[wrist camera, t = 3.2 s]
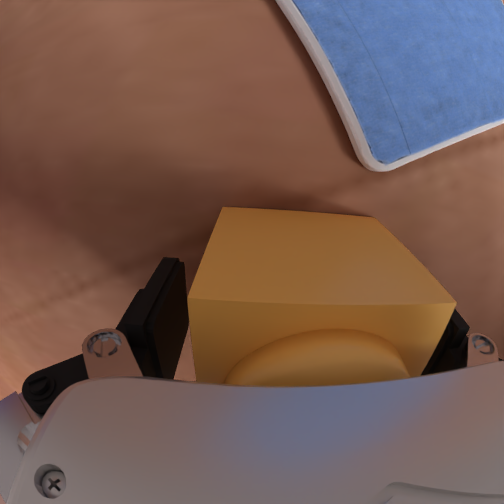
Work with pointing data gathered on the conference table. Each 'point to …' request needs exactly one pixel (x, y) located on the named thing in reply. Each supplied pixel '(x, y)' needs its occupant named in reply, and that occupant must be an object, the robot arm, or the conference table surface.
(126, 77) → the conference table surface
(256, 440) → the robot arm
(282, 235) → the yellow domed cube
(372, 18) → the blue flat slab
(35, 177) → the conference table surface
